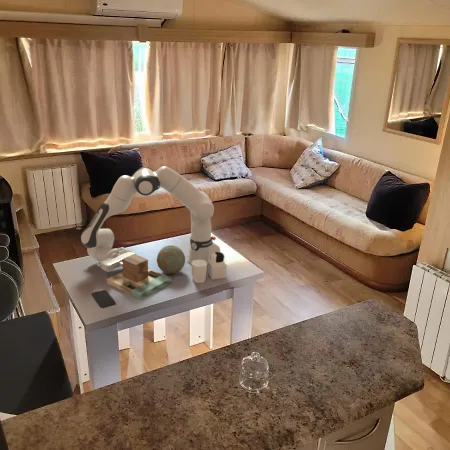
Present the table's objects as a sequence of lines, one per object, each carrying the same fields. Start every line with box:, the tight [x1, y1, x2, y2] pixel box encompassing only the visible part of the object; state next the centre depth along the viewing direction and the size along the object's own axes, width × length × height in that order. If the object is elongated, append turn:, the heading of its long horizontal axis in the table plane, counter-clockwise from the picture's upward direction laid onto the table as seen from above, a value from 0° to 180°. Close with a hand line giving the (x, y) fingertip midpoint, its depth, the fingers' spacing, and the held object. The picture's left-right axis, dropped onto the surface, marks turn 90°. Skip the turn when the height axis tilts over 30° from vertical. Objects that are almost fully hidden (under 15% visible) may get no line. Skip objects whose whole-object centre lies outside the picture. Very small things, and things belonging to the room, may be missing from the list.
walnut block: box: [122, 254, 149, 283], centre depth 236 cm, size 8×10×10 cm
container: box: [207, 251, 227, 281], centre depth 245 cm, size 8×8×13 cm
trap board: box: [106, 267, 173, 300], centre depth 237 cm, size 22×24×2 cm
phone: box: [91, 289, 117, 309], centre depth 222 cm, size 7×1×15 cm
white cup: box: [191, 260, 208, 284], centre depth 241 cm, size 8×8×10 cm
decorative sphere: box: [156, 245, 186, 275], centre depth 247 cm, size 15×15×15 cm
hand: (128, 265), depth 239 cm, fingers closed
